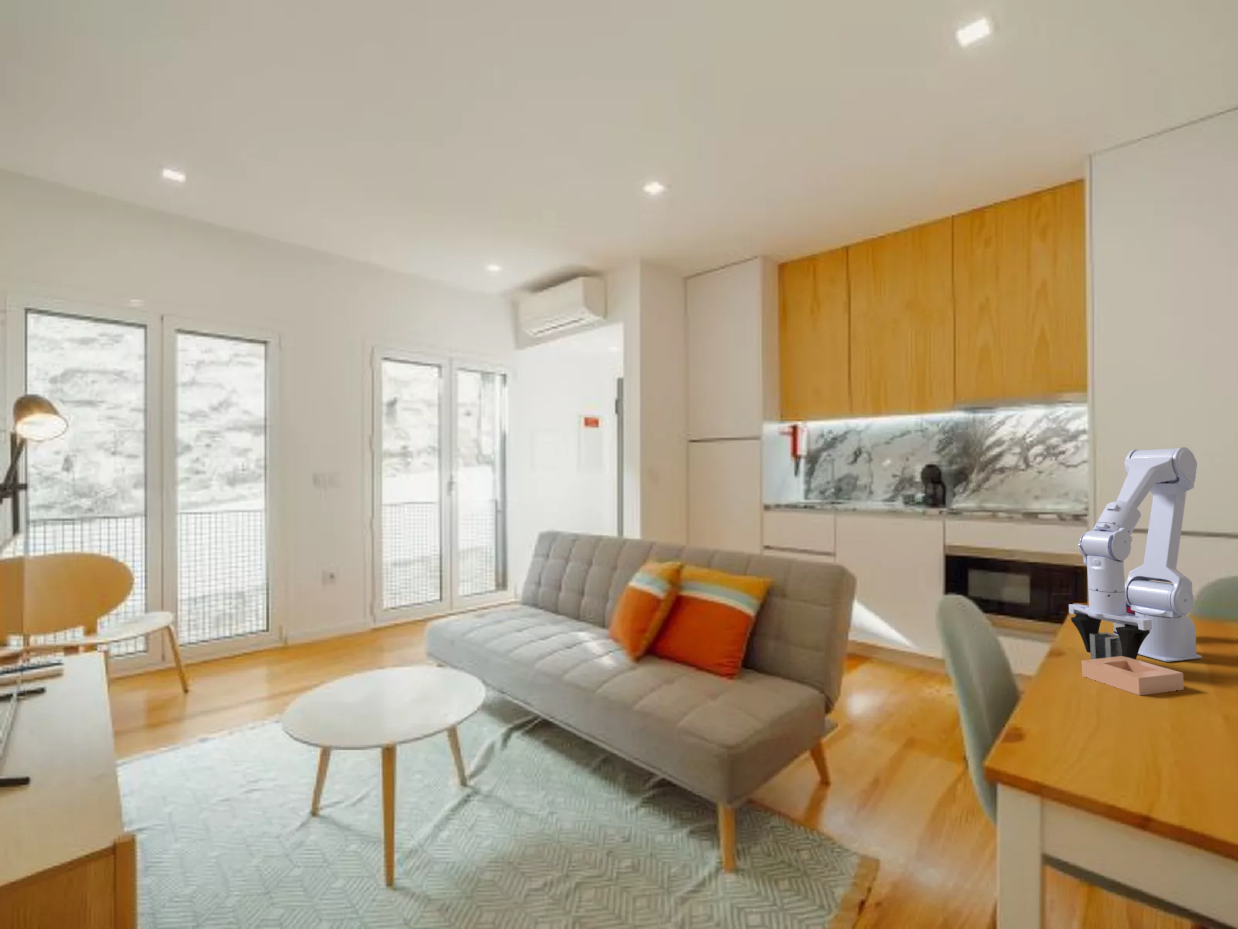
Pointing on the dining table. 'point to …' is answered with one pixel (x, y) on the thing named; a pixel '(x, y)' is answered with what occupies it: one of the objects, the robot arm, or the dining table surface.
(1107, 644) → the bracket
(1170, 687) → the well
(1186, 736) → the dining table surface
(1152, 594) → the robot arm
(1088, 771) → the dining table surface
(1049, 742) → the dining table surface
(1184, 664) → the dining table surface
